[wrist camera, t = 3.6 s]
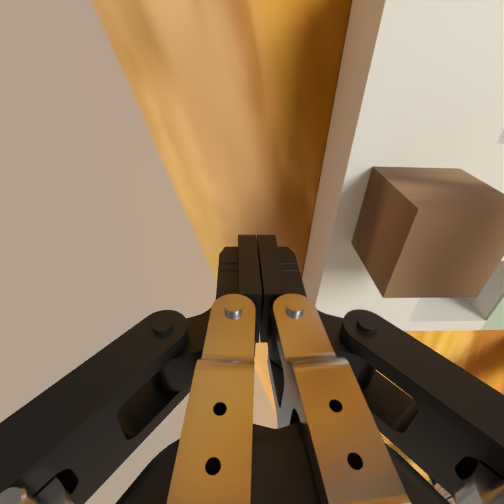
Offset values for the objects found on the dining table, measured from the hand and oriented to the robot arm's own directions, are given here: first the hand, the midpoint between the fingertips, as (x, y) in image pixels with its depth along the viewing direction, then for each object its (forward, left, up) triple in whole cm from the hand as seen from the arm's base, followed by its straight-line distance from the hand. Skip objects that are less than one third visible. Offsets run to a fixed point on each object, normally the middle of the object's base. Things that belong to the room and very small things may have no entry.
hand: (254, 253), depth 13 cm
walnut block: (+8, 0, -4) cm, 9 cm away
